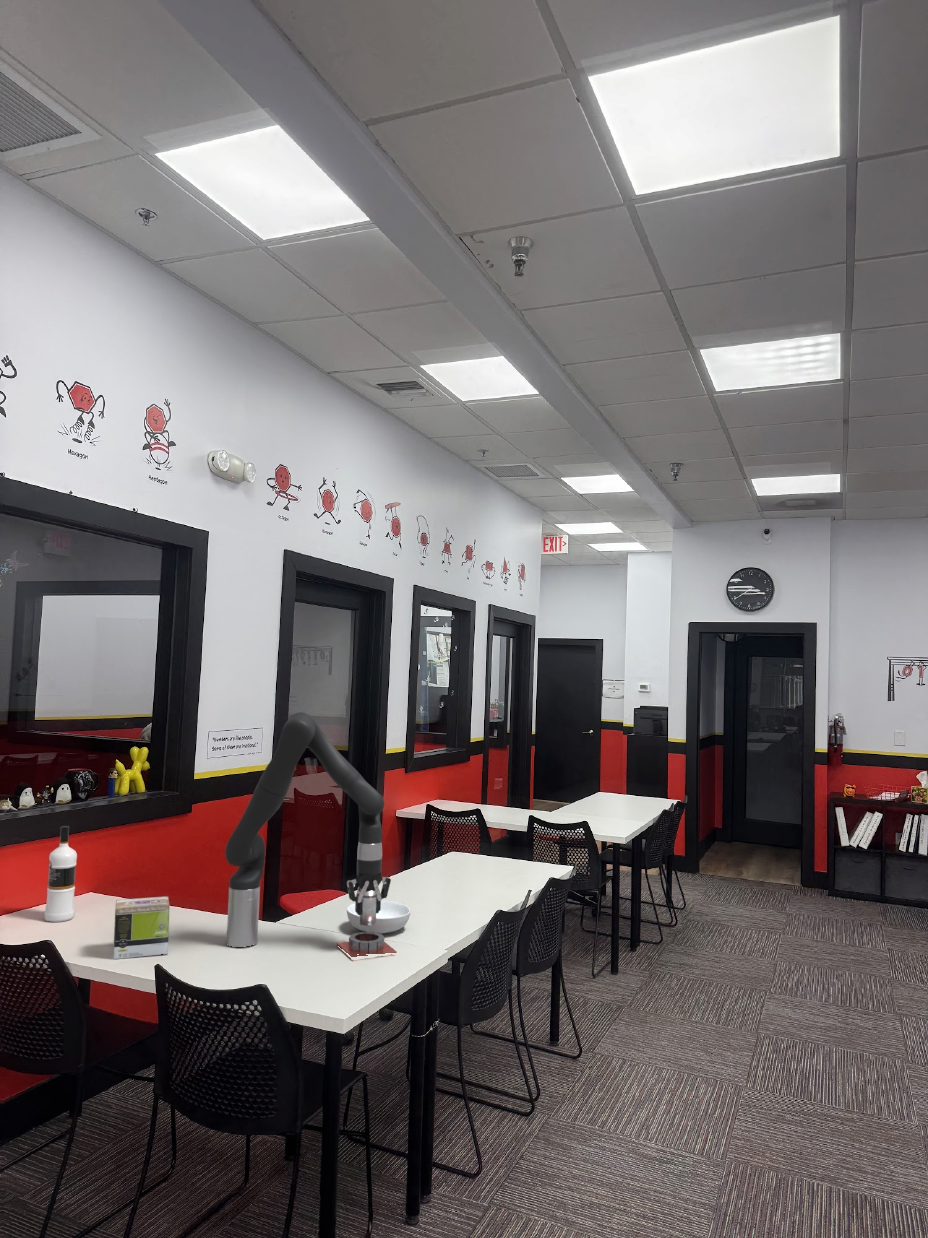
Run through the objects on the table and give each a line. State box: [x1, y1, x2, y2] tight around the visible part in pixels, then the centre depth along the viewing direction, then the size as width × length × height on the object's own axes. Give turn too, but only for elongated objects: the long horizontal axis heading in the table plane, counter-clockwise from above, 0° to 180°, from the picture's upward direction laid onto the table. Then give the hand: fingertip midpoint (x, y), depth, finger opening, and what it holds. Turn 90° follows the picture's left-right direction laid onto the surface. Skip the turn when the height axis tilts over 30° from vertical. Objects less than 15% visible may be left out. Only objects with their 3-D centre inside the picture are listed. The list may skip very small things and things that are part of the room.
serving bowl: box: [346, 900, 411, 935], centre depth 281 cm, size 21×21×7 cm
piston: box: [359, 890, 377, 926], centre depth 260 cm, size 5×5×10 cm
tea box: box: [113, 895, 170, 960], centre depth 252 cm, size 15×10×15 cm
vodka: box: [43, 825, 78, 923], centre depth 282 cm, size 9×9×30 cm
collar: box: [336, 931, 398, 957], centre depth 260 cm, size 14×14×4 cm
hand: (367, 913), depth 260 cm, fingers closed on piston, 5 cm apart
